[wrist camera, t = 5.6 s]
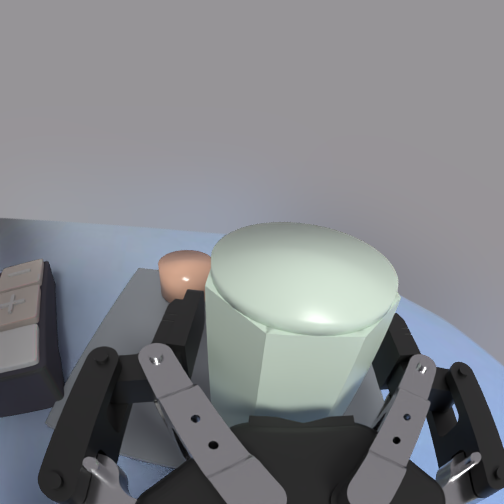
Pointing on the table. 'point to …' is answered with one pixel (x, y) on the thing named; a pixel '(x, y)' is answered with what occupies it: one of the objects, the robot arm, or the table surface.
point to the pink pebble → (183, 273)
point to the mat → (146, 415)
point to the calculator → (28, 340)
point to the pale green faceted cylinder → (293, 320)
